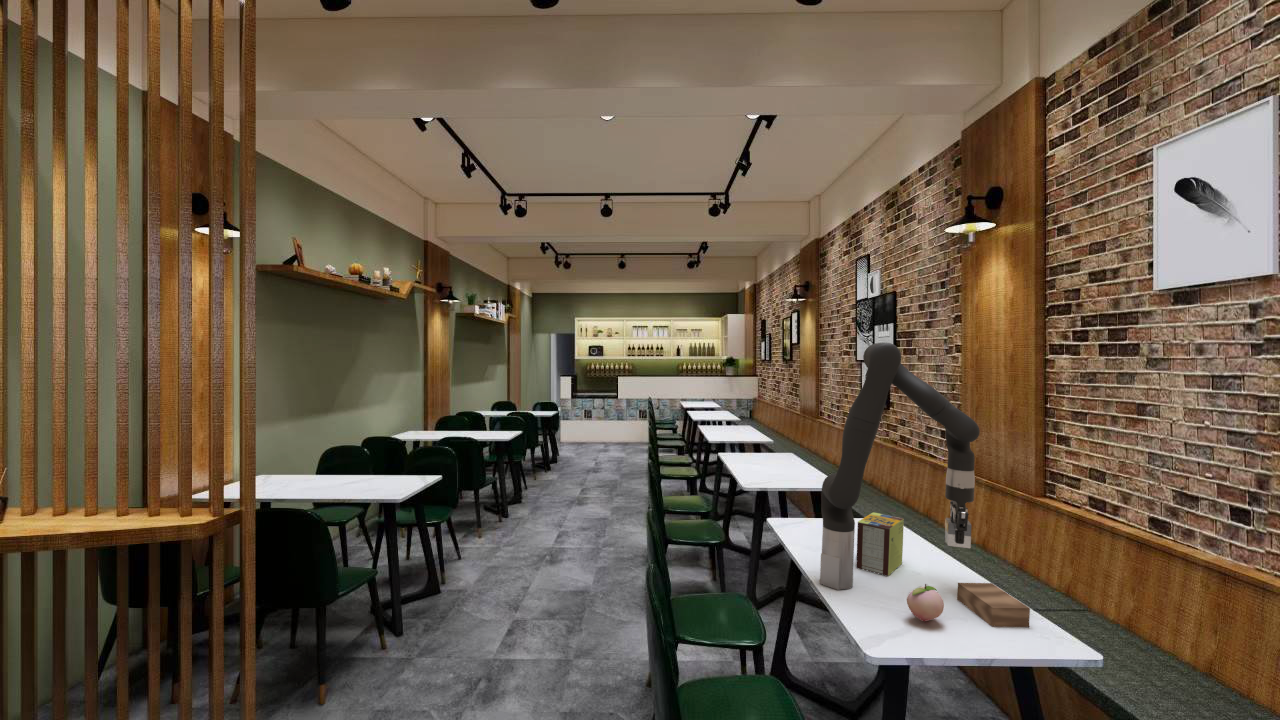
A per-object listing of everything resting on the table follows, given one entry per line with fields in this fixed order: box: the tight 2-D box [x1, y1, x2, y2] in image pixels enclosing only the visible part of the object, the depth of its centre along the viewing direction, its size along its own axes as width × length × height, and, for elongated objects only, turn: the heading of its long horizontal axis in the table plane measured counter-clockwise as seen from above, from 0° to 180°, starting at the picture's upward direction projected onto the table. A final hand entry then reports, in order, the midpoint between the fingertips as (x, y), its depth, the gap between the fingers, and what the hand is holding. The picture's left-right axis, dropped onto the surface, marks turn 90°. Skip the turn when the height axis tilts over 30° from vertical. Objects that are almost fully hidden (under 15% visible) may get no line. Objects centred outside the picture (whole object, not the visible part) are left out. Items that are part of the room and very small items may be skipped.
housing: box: [944, 517, 972, 549], centre depth 175 cm, size 5×6×7 cm
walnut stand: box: [956, 582, 1031, 628], centre depth 162 cm, size 16×10×5 cm, turn 1°
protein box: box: [855, 512, 905, 577], centre depth 194 cm, size 10×15×16 cm
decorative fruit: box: [906, 583, 945, 622], centre depth 155 cm, size 9×8×10 cm
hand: (957, 540), depth 175 cm, fingers closed on housing, 5 cm apart
